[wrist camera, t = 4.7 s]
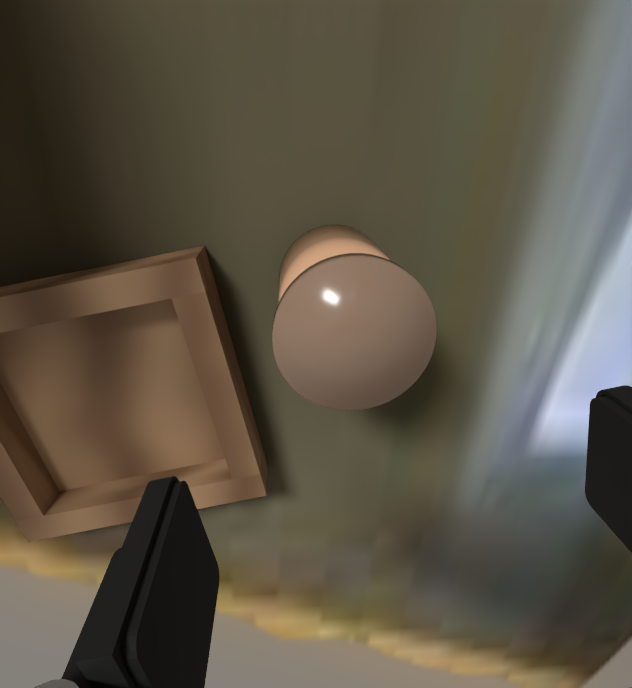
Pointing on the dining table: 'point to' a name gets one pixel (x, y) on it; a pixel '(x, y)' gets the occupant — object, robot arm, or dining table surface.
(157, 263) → the walnut serving tray
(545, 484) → the dining table surface
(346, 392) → the tan rounded cylinder
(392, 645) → the dining table surface
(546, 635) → the dining table surface
